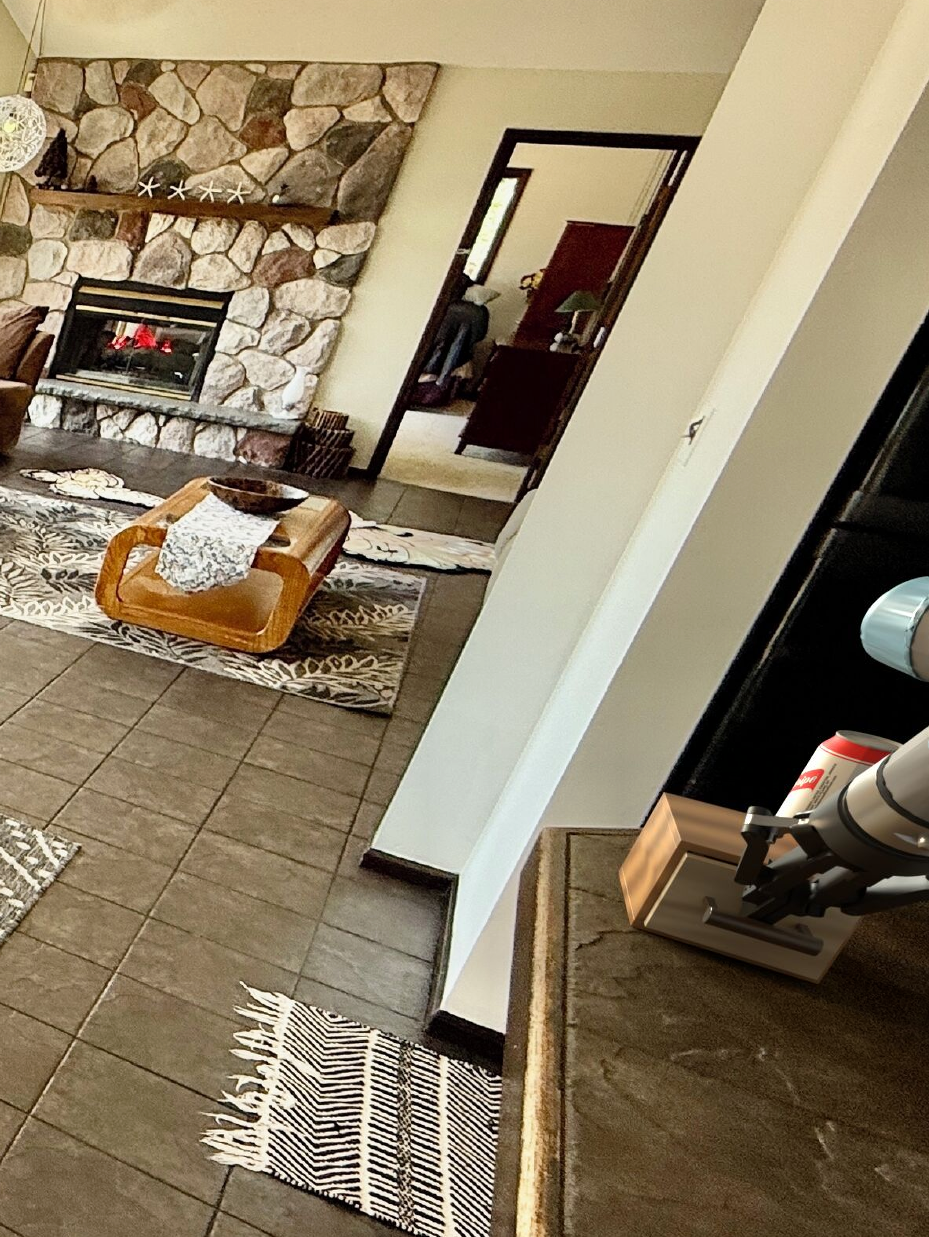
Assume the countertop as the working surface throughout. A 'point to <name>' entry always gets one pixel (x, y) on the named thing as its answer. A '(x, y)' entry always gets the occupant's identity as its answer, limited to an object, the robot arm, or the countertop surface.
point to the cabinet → (674, 834)
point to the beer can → (835, 768)
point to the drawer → (743, 920)
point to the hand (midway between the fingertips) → (753, 913)
